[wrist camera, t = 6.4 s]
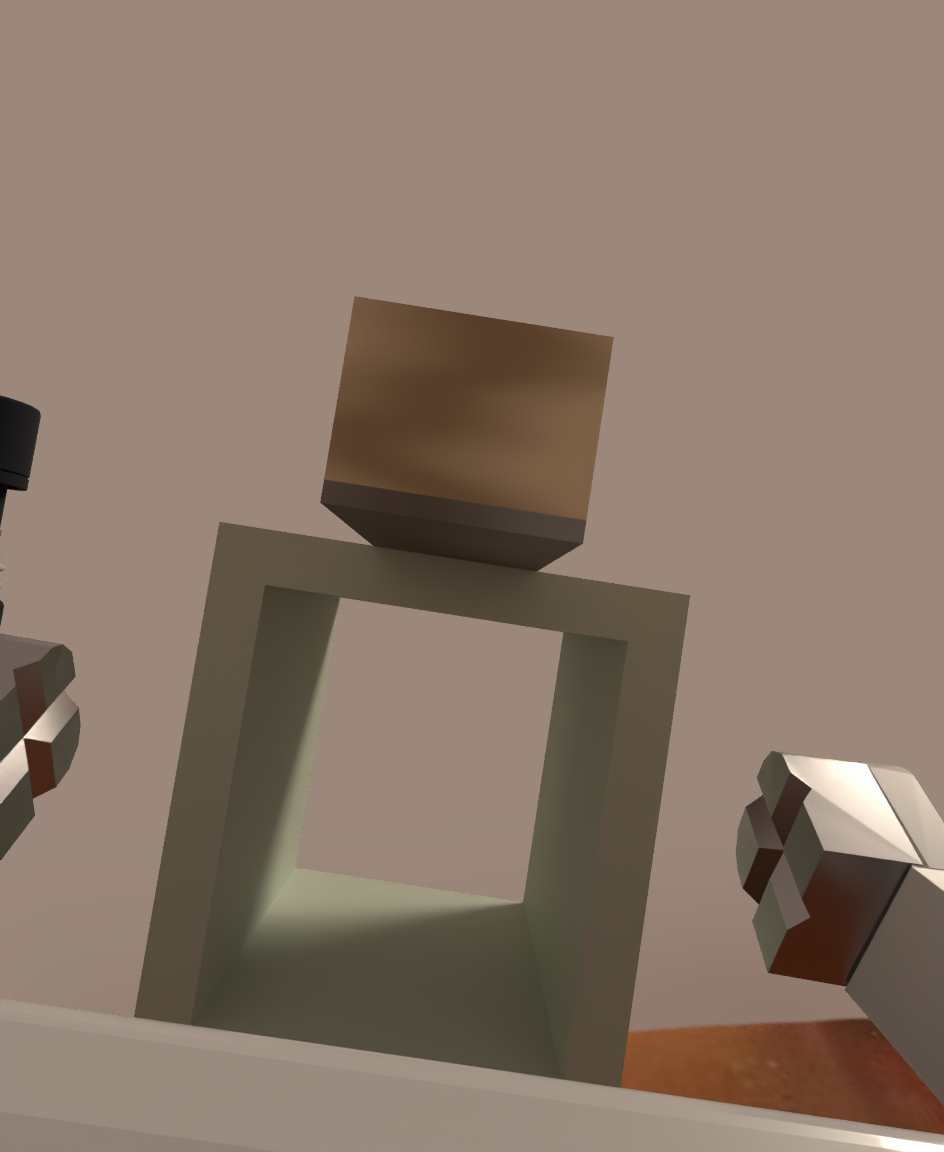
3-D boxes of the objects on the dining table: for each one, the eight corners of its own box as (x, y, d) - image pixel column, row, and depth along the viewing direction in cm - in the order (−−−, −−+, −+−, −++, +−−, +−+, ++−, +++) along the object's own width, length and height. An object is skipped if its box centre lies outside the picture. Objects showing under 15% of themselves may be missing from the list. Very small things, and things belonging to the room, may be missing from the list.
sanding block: (512, 585, 33) (526, 497, 33) (582, 543, 14) (613, 336, 14) (401, 568, 33) (415, 480, 33) (320, 502, 14) (354, 295, 14)
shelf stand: (513, 1204, 35) (602, 603, 36) (548, 1594, 21) (689, 595, 22) (212, 1158, 35) (312, 558, 36) (47, 1520, 21) (219, 522, 22)
